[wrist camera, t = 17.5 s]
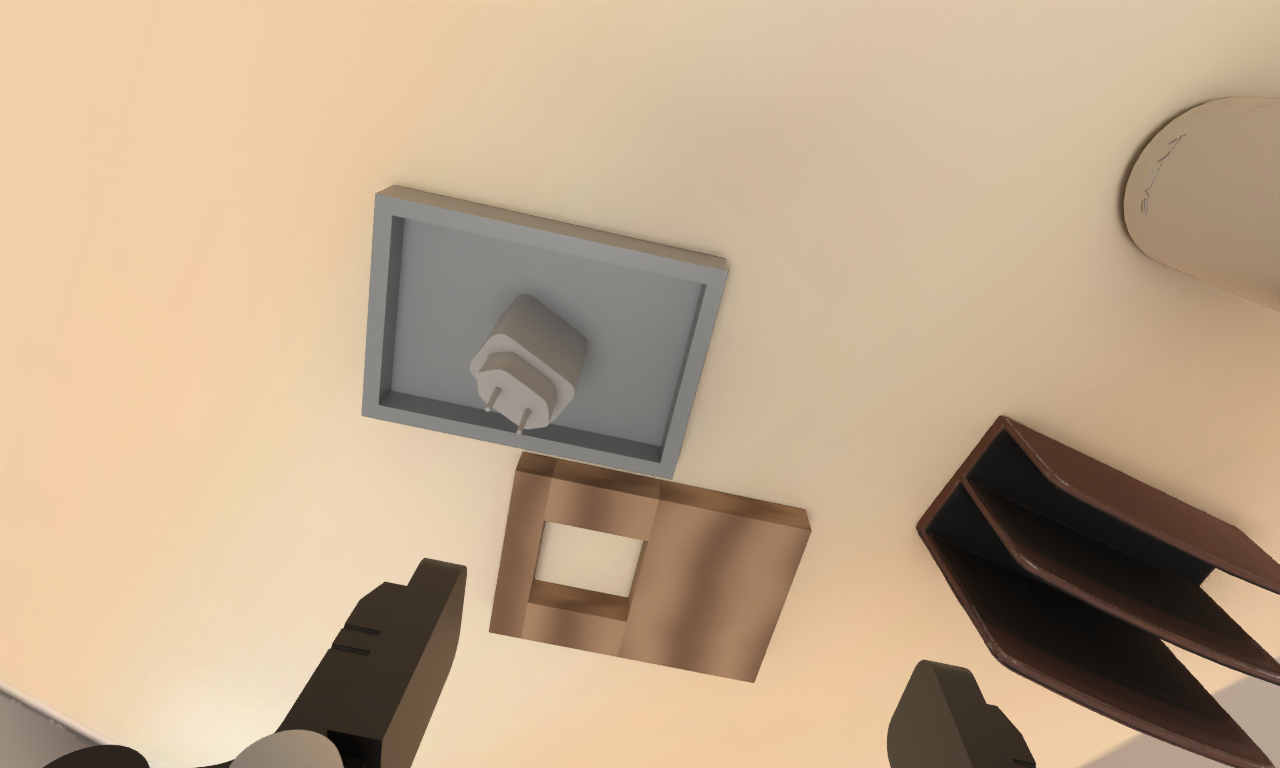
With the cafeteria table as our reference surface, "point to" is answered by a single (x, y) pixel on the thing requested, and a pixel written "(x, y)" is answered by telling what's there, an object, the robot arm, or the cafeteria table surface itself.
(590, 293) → the tray
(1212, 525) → the letter holder
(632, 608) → the dock board
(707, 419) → the cafeteria table surface
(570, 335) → the power adapter
